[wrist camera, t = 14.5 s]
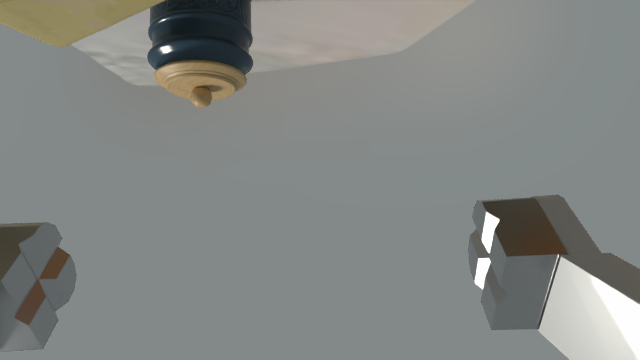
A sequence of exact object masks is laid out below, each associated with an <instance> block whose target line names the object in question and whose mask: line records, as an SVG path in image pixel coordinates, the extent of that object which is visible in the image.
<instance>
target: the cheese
mask: <svg viewBox="0 0 640 360" xmlns="http://www.w3.org/2000/svg"><path fill="white" fill-rule="evenodd" d="M163 1H165V0H0V23H2V24H4V25H6V26H8V27H11V28H13V29H15V30H17V31H20V32H22V33H24V34H27V35H29V36H31V37H33V38H36V39H38V40H40V41H43V42H45V43H47V44H50V45H53V46H57V47H64V46H68V45H70V44H72V43H74V42H76V41H78V40H80V39H83V38H85V37H87V36H89V35H92V34H94V33H96V32H99V31H101V30H103V29H105V28H108V27H110V26H112V25H114V24H116V23H118V22H120V21H122V20H124V19H126V18H128V17H131V16H133V15H135V14H137V13H139V12H141V11H144V10H146V9H148V8H150V7H152V6H154V5H156V4H159V3H161V2H163Z"/></svg>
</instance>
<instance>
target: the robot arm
mask: <svg viewBox="0 0 640 360" xmlns="http://www.w3.org/2000/svg"><path fill="white" fill-rule="evenodd" d="M473 220H474V223H475V225H476V228H477V229H476V230H475V231H474V232H473V233H472V234H471V235H470V239H469V248H468V251H469V265H470V269H471V274H472V277H473V280H474V283H475V284H477V285H478V286H479V287H481V288H482V289H483V292H482V298H481V303H482V305H483V308H484V311H485V314H486V317H487V319H488V322H489V324H490V328H491V330H507V329H508V330H509V329H539V332H540V333H541V334H542V335H543V336H544V337H545V338H547V339H548V340H549V341H550V342H551V343H552V344H553V345H554V346H555V347H557V348H558V349H559V350H560V351H561V352H562V353H563V354H564V355H565V356H566V357H567V358H568V359H570V360H640V269H639V268H637V267H635V266H633V265H631V264H629V263H628V262H626V261H624V260H622V259H621V258H619V257H617V256H615V255H613V254H611V253H601V251H600V250H599V248H598V247H597V246H596V244H595V243H594V241H593V240H592V238H591V237H590V236H589V234H588V233H587V231H586V230H585V228H584V227H583V225H582V224H581V223H580V221H579V220H578V218H577V217H576V215H575V214H574V212H573V211H572V210H571V208H570V207H569V205H568V204H567V202H566V201H565V199H564V198H563V197H561V196H560V195H547V196H535V197H530V198H516V199H515V198H514V199H497V200H480V201H477V202H476V204H475V206H474V212H473ZM61 240H62V237H61V236H60V234H59V232H58V230H57V228H56V226H55V225H53V224H50V223H13V224H0V352H9V351H23V350H36V349H43V348H44V346H45V344H46V342H47V341H48V339H49V337H50V335H51V333H52V331H53V329H54V328H55V326H56V324H57V322H58V317H57V314H56V310H58V309H59V308H61V307H62V306H63V305H65V304H66V303H67V302H68V301H69V299H70V297H71V295H72V293H73V291H74V288H75V281H76V271H75V265H74V262H73V260H72V258H71V256H70V255H69V254H68V253H66V252H65V251H64V250H62V249H61V248H59V244H60V242H61Z"/></svg>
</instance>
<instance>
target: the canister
mask: <svg viewBox="0 0 640 360" xmlns="http://www.w3.org/2000/svg"><path fill="white" fill-rule="evenodd" d="M251 1H252V0H165V1H163V2H161V3H159V4H156V5H154V6H152V7H150V27H149V30H148V34H149V37H150V39H151V41H152V48H151V49H150V51H149V52H148V57H147V58H148V61H149V63H150V65H151V66H152V67H153V68H154V69H156V72H155V74H154V77H155V80H156V82H157V83H158V84H159V85H161V86H162V87H164V88H166V89H167V90H168V91H169V92H171V93H172V94H174V95H176V96H179V97H183V98H187V99H191V101H192V103H193V104H194V105H195V106H196V107H199V108H204V107H207V106H208V105H209V104H210V103H211V100H216V99H222V98H226V97H229V96H231V95H232V94H233V93H235V92H236V91H238V90H240V89H242V88H243V87H244V86H245V85H246V80H247V79H246V77H245V74H247V73H248V72H249V71H250V70H251V68H252V66H253V60H252V57H251V56H250V55H249V47H250V46H251V44H252V40H253V37H252V34H251Z"/></svg>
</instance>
